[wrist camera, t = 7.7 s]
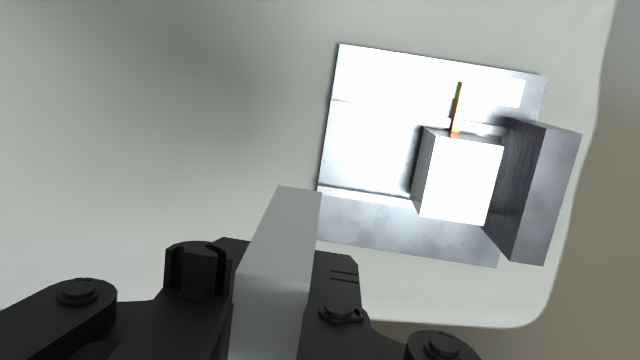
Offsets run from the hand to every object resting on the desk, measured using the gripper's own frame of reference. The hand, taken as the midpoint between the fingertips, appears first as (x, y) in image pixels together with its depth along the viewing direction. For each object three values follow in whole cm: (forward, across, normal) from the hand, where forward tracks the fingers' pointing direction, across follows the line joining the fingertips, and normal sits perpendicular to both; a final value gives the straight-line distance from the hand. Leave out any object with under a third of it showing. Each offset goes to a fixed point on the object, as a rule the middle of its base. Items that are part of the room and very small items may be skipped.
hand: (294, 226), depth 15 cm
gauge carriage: (+16, +9, +1) cm, 19 cm away
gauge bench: (+18, +8, 0) cm, 20 cm away
